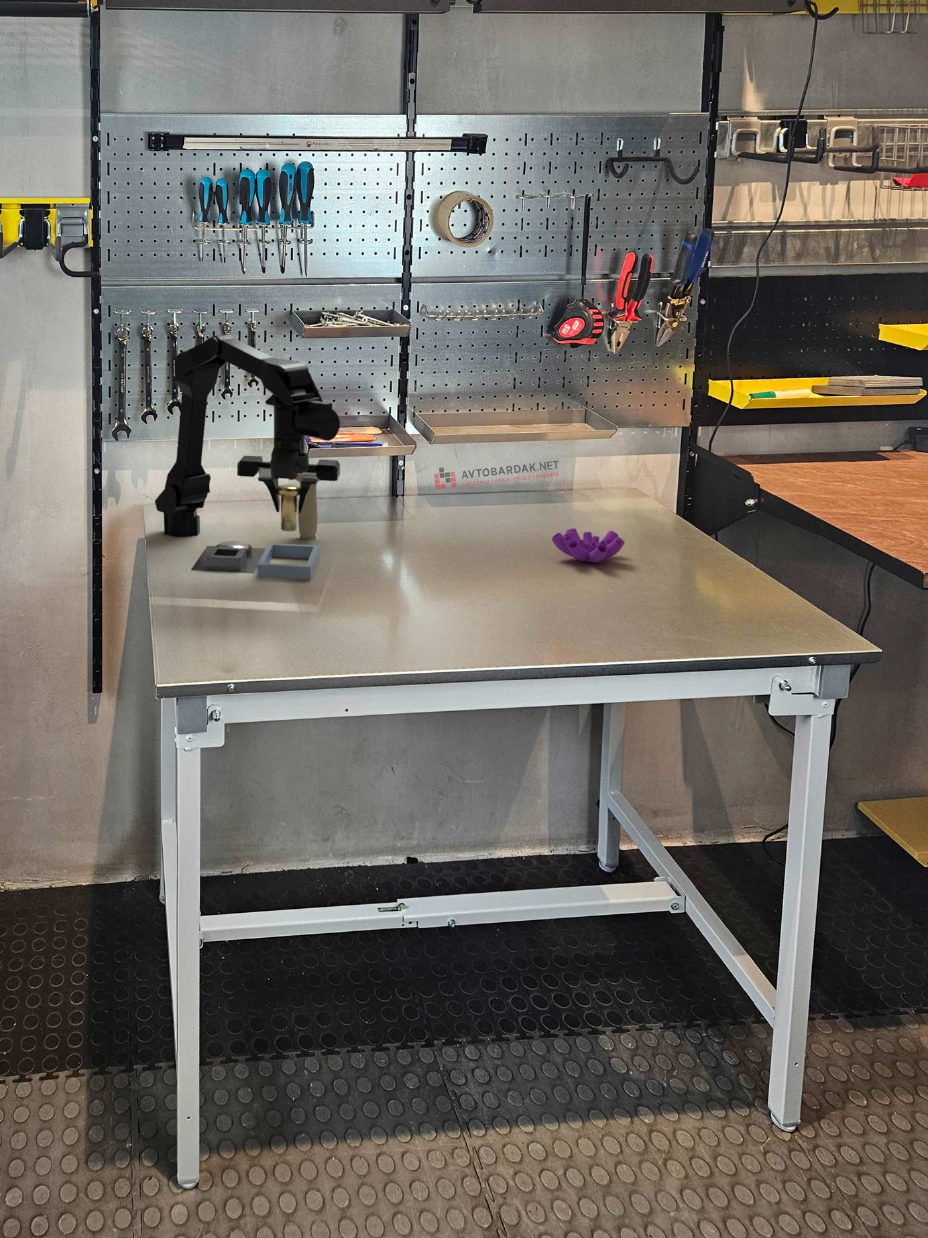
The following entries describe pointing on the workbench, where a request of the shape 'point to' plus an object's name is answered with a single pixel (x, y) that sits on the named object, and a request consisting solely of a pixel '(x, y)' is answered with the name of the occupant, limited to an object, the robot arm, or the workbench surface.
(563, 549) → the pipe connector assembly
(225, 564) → the grey socket base
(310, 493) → the handle
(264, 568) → the pin tray
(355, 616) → the workbench surface
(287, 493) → the pin
